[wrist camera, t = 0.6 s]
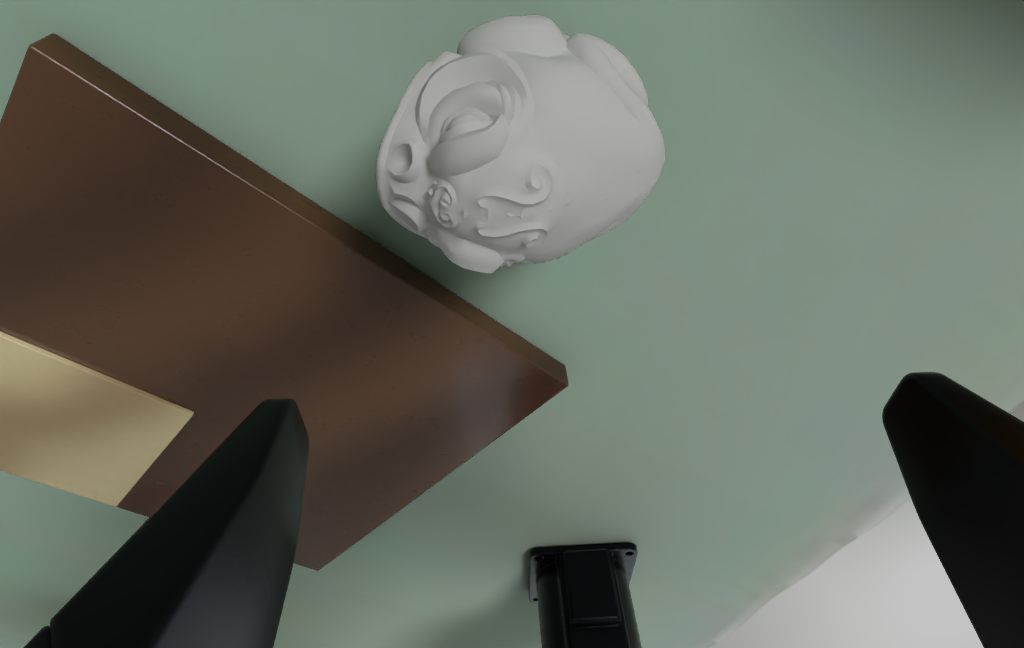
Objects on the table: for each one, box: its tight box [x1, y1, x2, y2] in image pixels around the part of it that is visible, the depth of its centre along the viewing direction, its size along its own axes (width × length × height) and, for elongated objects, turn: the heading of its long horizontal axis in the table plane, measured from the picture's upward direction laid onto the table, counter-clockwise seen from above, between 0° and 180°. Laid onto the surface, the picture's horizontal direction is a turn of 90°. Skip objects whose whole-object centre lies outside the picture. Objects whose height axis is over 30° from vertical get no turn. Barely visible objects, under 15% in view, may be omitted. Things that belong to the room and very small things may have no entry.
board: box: [0, 33, 568, 570], centre depth 24 cm, size 20×20×1 cm
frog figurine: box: [375, 14, 665, 274], centre depth 15 cm, size 6×7×7 cm
